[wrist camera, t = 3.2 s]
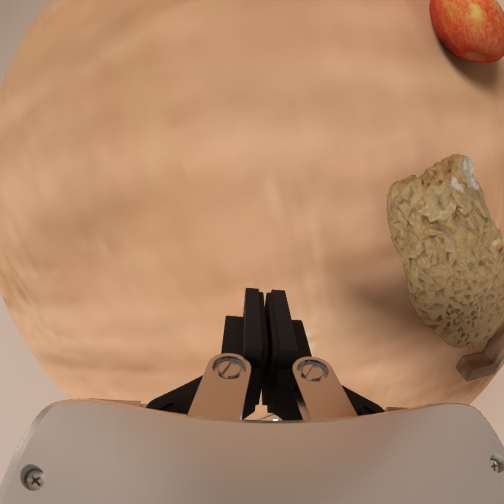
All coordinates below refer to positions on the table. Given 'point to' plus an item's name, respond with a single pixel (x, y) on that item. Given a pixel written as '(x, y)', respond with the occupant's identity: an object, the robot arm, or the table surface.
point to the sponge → (449, 251)
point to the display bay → (484, 358)
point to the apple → (470, 28)
